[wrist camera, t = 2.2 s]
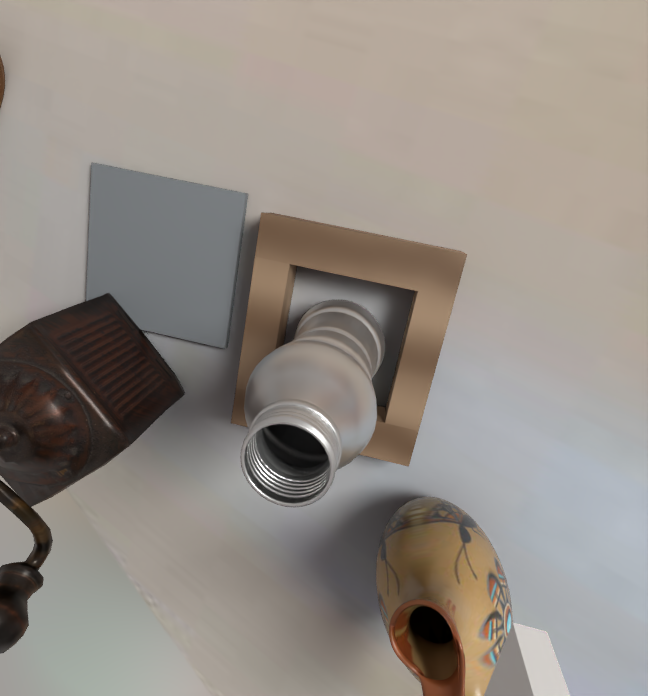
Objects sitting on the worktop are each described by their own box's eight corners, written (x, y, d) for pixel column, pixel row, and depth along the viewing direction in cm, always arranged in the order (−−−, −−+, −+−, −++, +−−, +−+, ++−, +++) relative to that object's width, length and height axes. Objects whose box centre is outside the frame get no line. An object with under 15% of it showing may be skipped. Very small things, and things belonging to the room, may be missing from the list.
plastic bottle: (340, 392, 38) (285, 569, 19) (284, 328, 37) (168, 447, 18) (403, 343, 36) (413, 485, 17) (346, 275, 35) (289, 345, 16)
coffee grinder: (23, 356, 41) (-241, 473, 24) (110, 288, 38) (-125, 369, 21) (136, 491, 44) (-30, 681, 27) (226, 439, 41) (102, 618, 24)
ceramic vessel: (352, 460, 40) (288, 832, 16) (460, 432, 38) (573, 810, 14) (412, 617, 43) (433, 1119, 19) (513, 599, 41) (678, 1135, 17)
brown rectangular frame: (407, 447, 38) (408, 466, 36) (242, 408, 40) (230, 423, 37) (460, 251, 34) (467, 254, 31) (272, 212, 35) (261, 212, 32)
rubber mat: (227, 346, 38) (224, 348, 38) (89, 315, 39) (85, 316, 39) (248, 193, 35) (245, 193, 34) (96, 163, 36) (91, 162, 35)
